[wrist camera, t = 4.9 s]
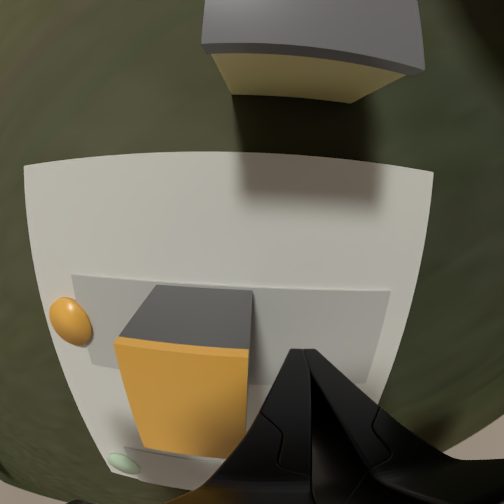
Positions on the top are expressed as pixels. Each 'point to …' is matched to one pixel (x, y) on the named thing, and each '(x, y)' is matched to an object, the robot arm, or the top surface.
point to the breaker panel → (223, 269)
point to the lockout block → (313, 46)
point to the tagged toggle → (188, 369)
